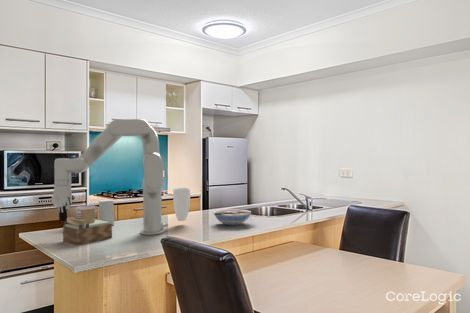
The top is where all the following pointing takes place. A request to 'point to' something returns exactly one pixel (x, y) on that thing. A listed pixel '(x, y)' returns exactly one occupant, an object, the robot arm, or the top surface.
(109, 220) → the skincare box
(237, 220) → the ramen bowl
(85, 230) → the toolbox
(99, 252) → the top surface
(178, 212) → the cup
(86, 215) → the lid
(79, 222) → the wooden bar
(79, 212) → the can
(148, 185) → the robot arm
